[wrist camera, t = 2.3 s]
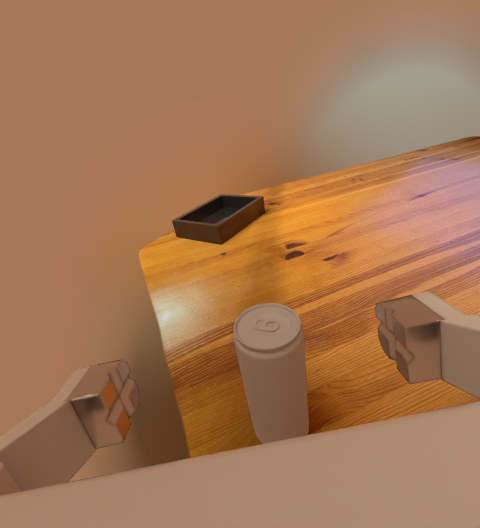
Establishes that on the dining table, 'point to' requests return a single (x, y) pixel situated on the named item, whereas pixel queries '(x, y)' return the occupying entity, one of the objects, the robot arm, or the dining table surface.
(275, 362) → the beverage can
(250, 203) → the dark shallow tray
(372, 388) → the dining table surface
